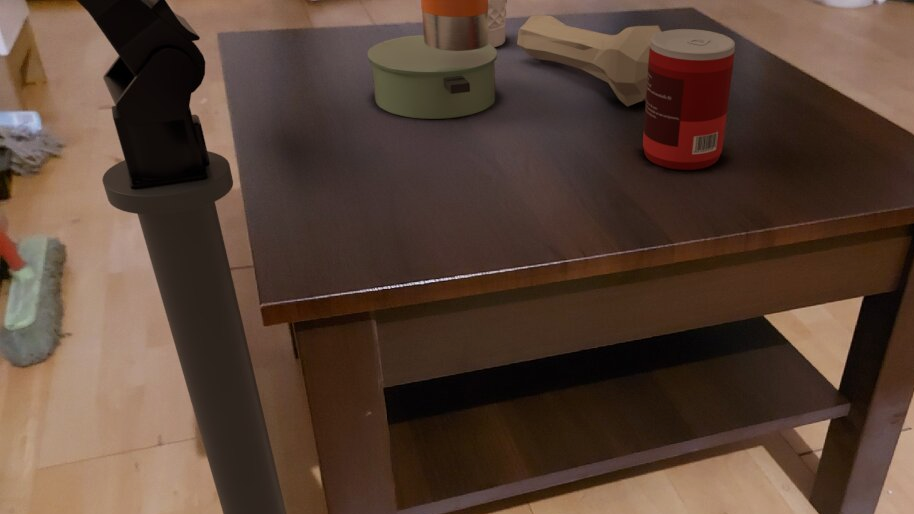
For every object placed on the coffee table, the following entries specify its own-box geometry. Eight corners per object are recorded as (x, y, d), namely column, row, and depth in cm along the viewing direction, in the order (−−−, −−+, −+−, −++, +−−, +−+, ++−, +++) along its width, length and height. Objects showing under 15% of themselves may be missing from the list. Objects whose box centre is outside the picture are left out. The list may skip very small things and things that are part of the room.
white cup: (437, 45, 112) (431, -38, 106) (467, 30, 118) (463, -49, 113) (491, 53, 110) (489, -31, 104) (519, 38, 116) (518, -42, 110)
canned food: (728, 147, 87) (743, 34, 81) (710, 177, 80) (725, 57, 74) (655, 135, 89) (664, 24, 83) (631, 163, 82) (639, 45, 76)
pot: (397, 133, 86) (392, 83, 84) (354, 81, 99) (349, 36, 96) (523, 116, 92) (523, 69, 89) (468, 68, 104) (466, 26, 102)
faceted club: (628, 111, 91) (490, 63, 107) (681, 117, 97) (543, 70, 113) (647, 24, 88) (502, -13, 104) (701, 35, 94) (556, -1, 110)
